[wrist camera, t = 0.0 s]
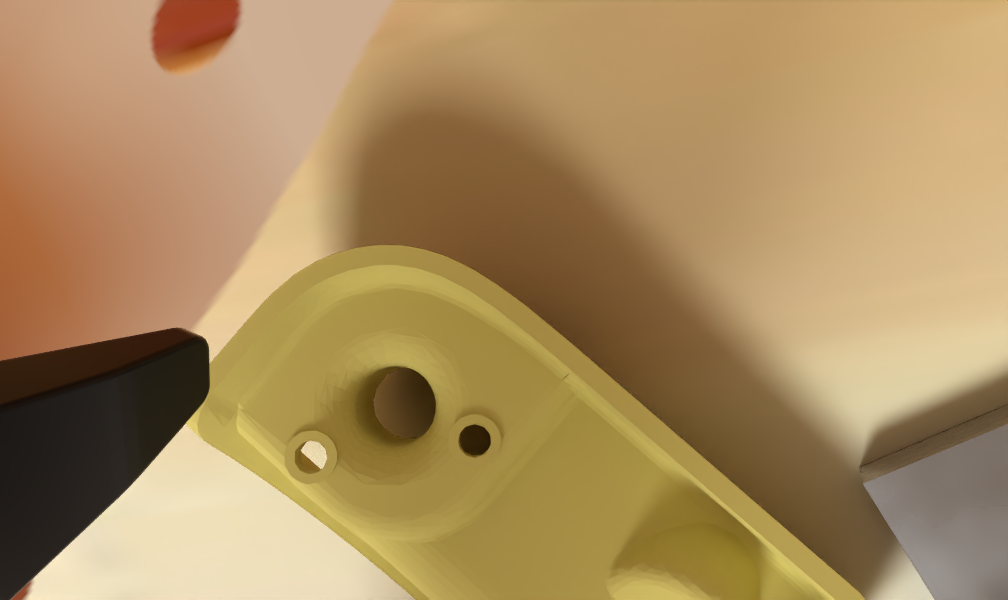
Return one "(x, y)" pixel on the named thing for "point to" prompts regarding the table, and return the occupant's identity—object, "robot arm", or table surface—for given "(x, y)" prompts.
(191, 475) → the table surface
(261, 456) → the plastic component
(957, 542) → the chassis
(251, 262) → the table surface
